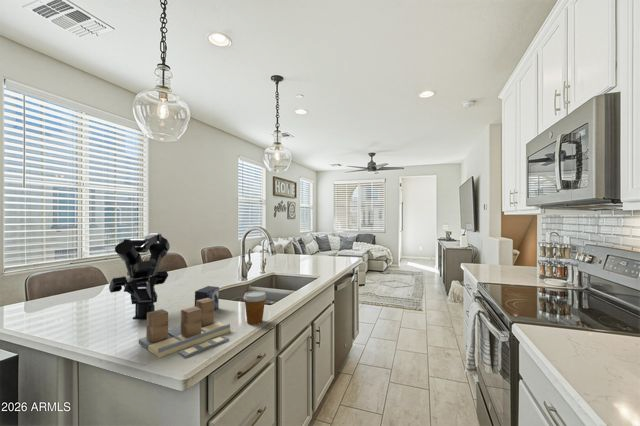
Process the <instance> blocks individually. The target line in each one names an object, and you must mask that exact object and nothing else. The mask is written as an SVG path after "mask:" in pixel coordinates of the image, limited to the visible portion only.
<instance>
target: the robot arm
mask: <svg viewBox="0 0 640 426" xmlns="http://www.w3.org/2000/svg"><path fill="white" fill-rule="evenodd" d="M169 250H170V243H169V240H168V239H167V238H166V237H163V236H162V233H159V232H158V233H154V232H153V233H152V232H151V233H148V235H145V236H143V237H140V238H124V240H123V241H121V242H119V243H118V244H117V245H115V247H114V251H115V253H116V254H117V255H118V257H119V258H120V259H121V260H122V261H124V265H125V268H126V270H127V272H126V274H127V276H128V278H127V277H126V276H125V275H123V276H118V277H117V276H115V277H113V278H112V279H111V281H110V283H109V285H108V289H109V292H110V293H111V294H113V293H117V292H121V291H122V289H123V287H124V289H123V292H124V293H128V294H130V300H131V305H135V308H134V309H135V313H134V314H135V315H134V316H133V317H132V319H133V320H138V319H139V320H147V313H148V312H152V311H156V308H155V307H156V306H155V303H157V302H158V294H157V292H156V288H155V286H157V285H158V286H159V285H163V284H165V282H166V280H167V278H168V277H169V273H168V271H167V270H159V271H158V269H159V266H160V264H161V261H162V259H163V258H164V257H165V256H167V254H168V252H169ZM148 251H149V253H150V256H149V259H148V260H146V261H145V260H144V261H143V258H142V256H141V253H143V254H144V253H147V252H148Z"/></svg>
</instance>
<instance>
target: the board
mask: <svg viewBox="0 0 640 426" xmlns="http://www.w3.org/2000/svg"><path fill="white" fill-rule="evenodd" d="M229 332H231V324H230V323H227V324H223V323H221V322H219V321H216V320H214V323H211V324H208V325H205V326H201V334H198V335H195V336H192V337H189V338H186V337H184V336H182V335H181V325H179V326H176V327H173V328H170V329H168V338H165V339H162V340H159V341H156V342H153V343H152V342H151V341H149V340H148V339H146V336H143V337H141V338H139V339H138V344H139V345H141V347H143V348H145V349H146V350H148V351H149V352H151V354H153V355H155V356H156V357H157V358H162V357H165V356H167V355H170V354H173V353H176V352H179V351H182V350H185V349H187V348H190V347H193V346H195V345H198V344H201V343H203V342H206V341H209V340H212V339H214V338H217V337H220V336H222V335H224V334H226V333H229Z"/></svg>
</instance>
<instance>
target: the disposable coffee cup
mask: <svg viewBox="0 0 640 426" xmlns="http://www.w3.org/2000/svg"><path fill="white" fill-rule="evenodd" d="M242 297H243V300H244V305H245V307H244V308H245V316H246V323H247V324H248V325H250V324H251V325H252V326H254V325H253V324H256V325H259V323H260V324H262V323H263V319H264V311H265V303H266V299H267V295H266V292H265V291H260V290H253V291H252V290H251V291H247V292H245V293H244V295H243V296H242ZM261 322H262V323H261Z"/></svg>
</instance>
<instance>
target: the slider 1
mask: <svg viewBox="0 0 640 426" xmlns="http://www.w3.org/2000/svg"><path fill="white" fill-rule="evenodd" d="M168 330H169V312H168V311H167V310H165V309H164V308H160V309H155V311H152V312H148V313H147V319H146V336H145V337H146V339H148V340H149V341H151V342H152V343H153V342H156V341H159V340H162V339H165V338H168Z"/></svg>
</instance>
